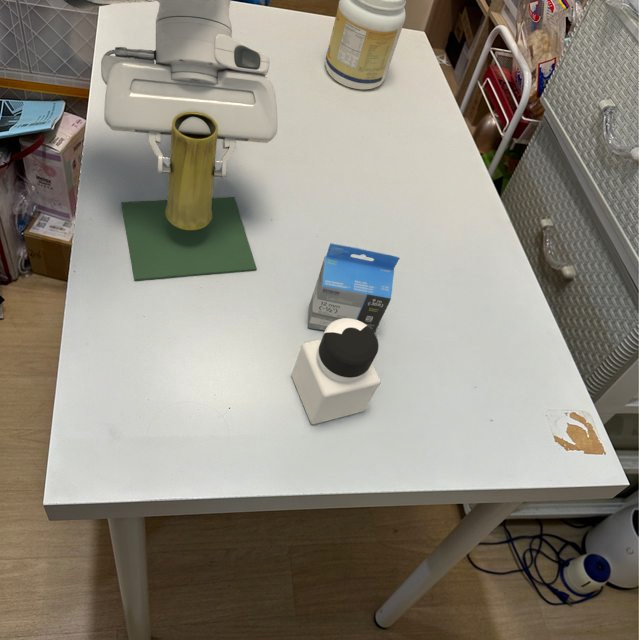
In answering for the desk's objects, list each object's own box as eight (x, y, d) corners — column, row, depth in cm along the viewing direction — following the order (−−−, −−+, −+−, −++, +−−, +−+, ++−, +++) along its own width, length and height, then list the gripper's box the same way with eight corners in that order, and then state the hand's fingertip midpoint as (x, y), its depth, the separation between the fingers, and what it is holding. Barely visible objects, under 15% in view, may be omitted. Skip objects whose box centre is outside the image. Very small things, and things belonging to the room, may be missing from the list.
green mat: (134, 281, 77) (134, 279, 76) (121, 203, 84) (121, 201, 84) (256, 270, 82) (256, 268, 82) (234, 198, 89) (234, 196, 89)
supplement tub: (340, 48, 122) (362, -41, 108) (393, 74, 120) (423, -13, 107) (312, 73, 114) (333, -19, 101) (369, 100, 113) (398, 11, 100)
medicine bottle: (364, 411, 73) (396, 358, 63) (310, 426, 70) (335, 372, 60) (342, 362, 76) (369, 305, 67) (290, 374, 73) (310, 316, 64)
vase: (214, 203, 83) (225, 114, 71) (208, 235, 79) (218, 147, 68) (169, 195, 82) (172, 104, 70) (161, 227, 78) (163, 136, 67)
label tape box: (306, 328, 78) (328, 266, 69) (308, 304, 81) (329, 240, 71) (371, 340, 79) (402, 280, 70) (372, 316, 82) (401, 255, 72)
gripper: (98, 36, 66) (100, 166, 68) (282, 58, 71) (278, 178, 73) (103, 51, 72) (104, 171, 74) (272, 71, 77) (269, 181, 79)
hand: (192, 175), depth 74 cm, fingers closed on vase, 5 cm apart
